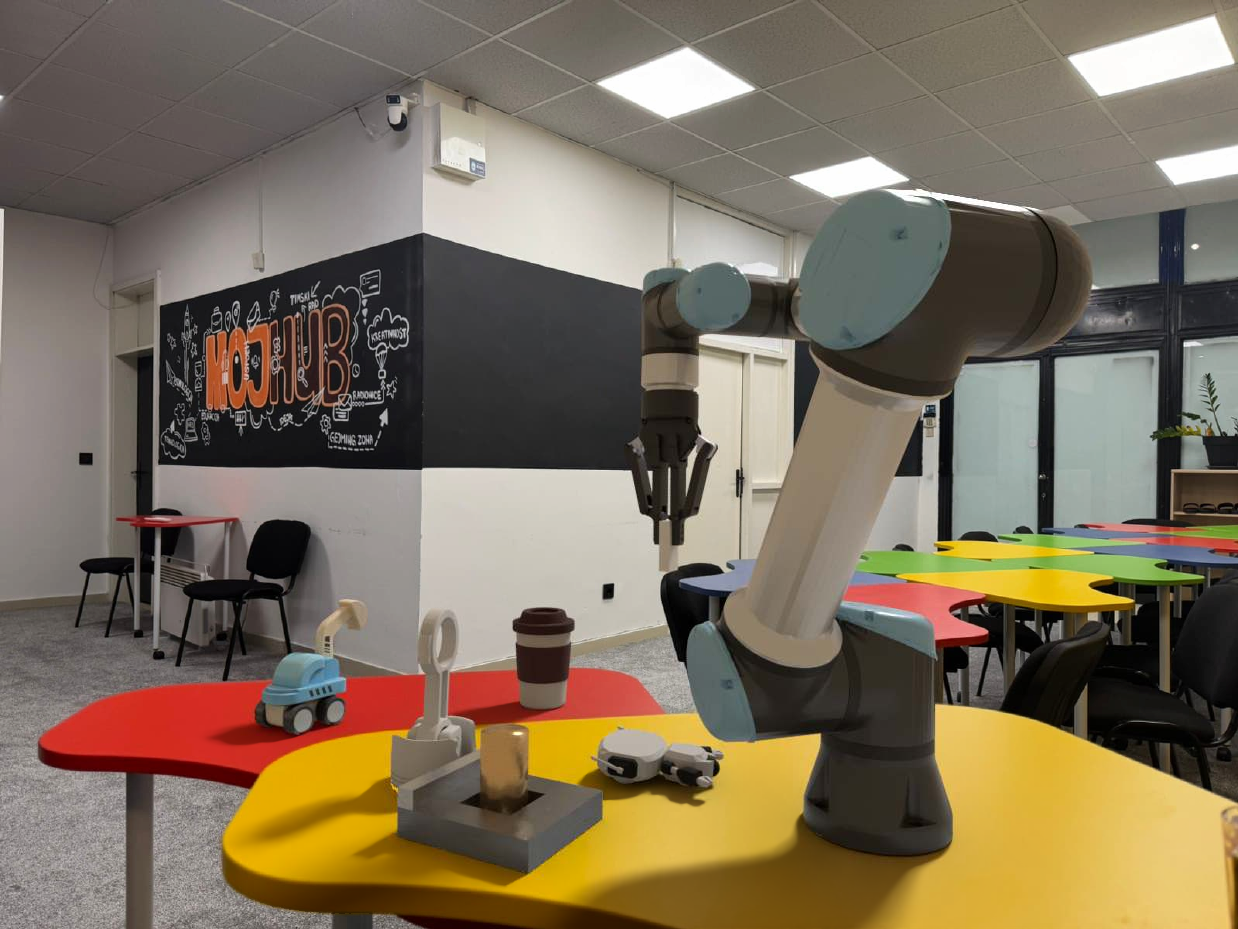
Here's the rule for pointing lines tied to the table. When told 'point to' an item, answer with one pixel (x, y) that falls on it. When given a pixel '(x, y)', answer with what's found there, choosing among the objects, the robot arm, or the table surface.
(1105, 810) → the table surface
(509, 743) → the copper cylinder rod
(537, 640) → the coffee cup
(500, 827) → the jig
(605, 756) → the robot toy
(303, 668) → the toy excavator
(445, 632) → the engine component
